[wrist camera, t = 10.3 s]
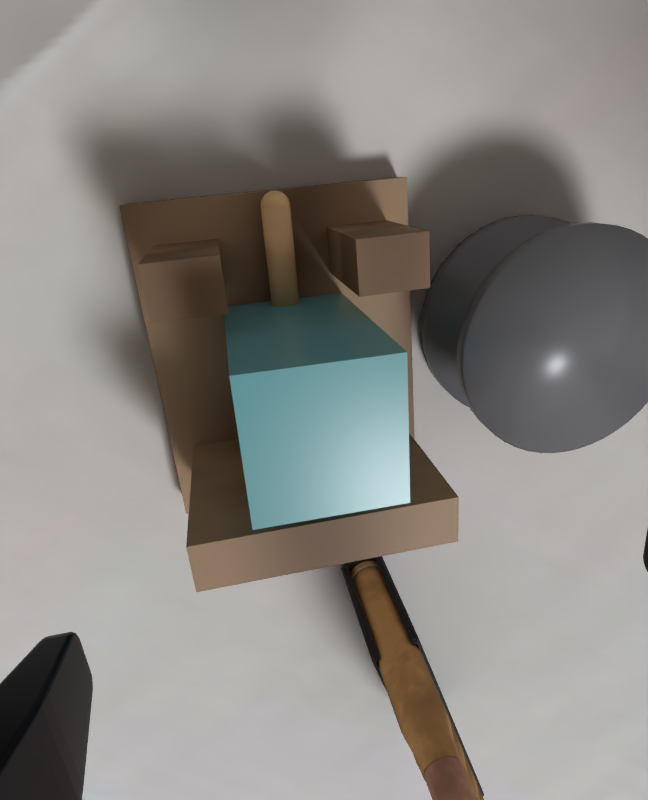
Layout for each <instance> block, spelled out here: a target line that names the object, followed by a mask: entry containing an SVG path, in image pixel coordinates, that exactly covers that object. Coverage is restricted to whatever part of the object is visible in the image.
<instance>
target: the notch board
mask: <svg viewBox="0 0 648 800" xmlns="http://www.w3.org/2000/svg"><path fill="white" fill-rule="evenodd" d="M270 191H280V192H282V193H284V194H285V195H286V196H287V198H288V199H289V202H290V209H291V219H292V230H293V240H294V251H295V262H296V272H297V283H298V293H299V298H302V297H311V296H320V295H328V294H337V293H342V294H343V295H344V296H346V297H347V298H348V299H349V300H350V301H351V302H352V303H353V304H354V305H356V306H357V307H358V308H359V309H360V310H361V311H362V312H363V313H364V314H366V315H367V316H368V317H369V318H370V319H371V320H372V321H373V322H374V323H375V324H377V325H378V326H379V327H380V328H381V329H382V330H383V331H384V332H385V333H387V334H388V335H389V336H390V337H391V338H392V339H393V340H394V341H395V342H396V343H398V344H399V345H400V346H401V347H402V348H403V349H404V350H405V351H406V352H407V364H408V413H409V463H410V503H406V504H400V505H395V506H389V507H383V508H377V509H371V510H366V511H360V512H354V513H348V514H343V515H337V516H331V517H325V518H319V519H314V520H308V521H302V522H296V523H291V524H285V525H279V526H273V527H267V528H262V529H256V530H253V529H252V523H251V516H250V510H249V503H248V496H247V490H246V483H245V477H244V470H243V463H242V457H241V450H240V443H239V437H238V430H237V424H236V417H235V410H234V404H233V397H232V391H231V384H230V377H229V367H228V355H227V343H226V331H225V320H224V314H229V310H228V306H233V305H242V304H251V303H259V302H268V301H271V294H270V285H269V276H268V267H267V259H266V250H265V241H264V232H263V223H262V215H261V201H262V198H263V197H264V195H265V194H266V193H268V192H270ZM120 211H121V215H122V220H123V224H124V229H125V234H126V238H127V243H128V247H129V252H130V257H131V261H132V266H133V270H134V275H135V280H136V284H137V289H138V293H139V298H140V303H141V307H142V312H143V316H144V321H145V326H146V330H147V335H148V340H149V344H150V349H151V353H152V358H153V363H154V367H155V372H156V376H157V381H158V386H159V390H160V395H161V399H162V404H163V409H164V413H165V418H166V422H167V427H168V432H169V436H170V441H171V445H172V450H173V455H174V459H175V464H176V469H177V473H178V478H179V482H180V487H181V492H182V496H183V501H184V505H185V510H186V514H187V513H189V517H188V532H187V546H186V547H187V552H188V556H189V561H190V565H191V570H192V574H193V579H194V583H195V588H196V592H200V591H205V590H210V589H215V588H220V587H225V586H231V585H236V584H241V583H246V582H251V581H256V580H261V579H267V578H272V577H277V576H282V575H287V574H292V573H297V572H303V571H308V570H313V569H318V568H323V567H328V566H333V565H338V564H344V563H349V562H354V561H359V560H364V559H369V558H374V557H380V556H385V555H390V554H395V553H400V552H405V551H410V550H416V549H421V548H426V547H431V546H436V545H441V544H446V543H452V542H457V541H458V496H457V495H456V493H455V492H454V491H453V489H452V488H451V487H450V485H449V484H448V483H447V482H446V480H445V479H444V478H443V476H442V475H441V474H440V472H439V471H438V470H437V468H436V467H435V466H434V465H433V463H432V462H431V461H430V459H429V458H428V457H427V455H426V454H425V453H424V452H423V450H422V449H421V448H420V446H419V445H418V444H417V442H416V441H415V440H414V410H413V374H412V338H411V302H410V290H417V289H425V288H430V232H429V231H427V230H423V229H419V228H415V227H411V226H408V193H407V177H395V178H385V179H375V180H364V181H354V182H344V183H334V184H324V185H314V186H304V187H294V188H284V189H274V190H264V191H254V192H244V193H234V194H224V195H214V196H204V197H194V198H184V199H174V200H164V201H154V202H144V203H133V204H124V205H121V206H120Z"/></svg>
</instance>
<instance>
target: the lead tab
mask: <svg viewBox="0 0 648 800" xmlns="http://www.w3.org/2000/svg"><path fill="white" fill-rule="evenodd" d="M261 215H262V223H263V232H264V241H265V250H266V259H267V267H268V276H269V285H270V294H271V301H268V302H259V303H251V304H242V305H233V306H228V310H229V314H224V320H225V331H226V343H227V355H228V367H229V377H230V384H231V391H232V397H233V404H234V410H235V417H236V424H237V430H238V437H239V443H240V450H241V457H242V463H243V470H244V477H245V483H246V490H247V496H248V503H249V510H250V516H251V523H252V529H253V530H256V529H262V528H267V527H273V526H279V525H285V524H291V523H296V522H302V521H308V520H314V519H319V518H325V517H331V516H337V515H343V514H348V513H354V512H360V511H366V510H371V509H377V508H383V507H389V506H395V505H400V504H406V503H410V463H409V413H408V364H407V352H406V351H405V350H404V349H403V348H402V347H401V346H400V345H399V344H398V343H396V342H395V341H394V340H393V339H392V338H391V337H390V336H389V335H388V334H387V333H385V332H384V331H383V330H382V329H381V328H380V327H379V326H378V325H377V324H375V323H374V322H373V321H372V320H371V319H370V318H369V317H368V316H367V315H366V314H364V313H363V312H362V311H361V310H360V309H359V308H358V307H357V306H356V305H354V304H353V303H352V302H351V301H350V300H349V299H348V298H347V297H346V296H344V295H343V294H342V293H337V294H328V295H320V296H311V297H302V298H299V293H298V283H297V272H296V262H295V251H294V240H293V230H292V219H291V209H290V202H289V199H288V198H287V196H286V195H285V194H284V193H282V192H280V191H270V192H268V193H266V194H265V195H264V197H263V198H262V201H261Z"/></svg>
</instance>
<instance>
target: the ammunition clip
mask: <svg viewBox="0 0 648 800" xmlns="http://www.w3.org/2000/svg"><path fill="white" fill-rule="evenodd" d="M341 569H342V572H343V575H344V578H345V581H346V584H347V587H348V590H349V593H350V596H351V599H352V602H353V605H354V608H355V611H356V614H357V617H358V620H359V623H360V626H361V629H362V632H363V635H364V638H365V641H366V644H367V647H368V650H369V653H370V656H371V659H372V662H373V664H374V666H375V668H376V670H377V672H378V674H379V676H380V678H381V680H382V682H383V684H384V686H385V688H386V691H387V693H388V695H389V698H390V701H391V704H392V707H393V710H394V713H395V715H396V718H397V721H398V724H399V727H400V729H401V732H402V734H403V736H404V738H405V740H406V742H407V743H408V745H409V747H410V749H411V750H412V752H413V755H414V757H415V760H416V762H417V765H418V767H419V769H420V771H421V773H422V775H423V778H424V780H425V781H426V783H427V786H428V788H429V791H430V794H431V797H432V799H433V800H484V799H483V796H484V793H483V791H482V788H481V786H480V783H479V781H478V779H477V776H476V774H475V772H474V769H473V767H472V764H471V762H470V760H469V757H468V755H467V752H466V750H465V748H464V745H463V743H462V741H461V738H460V736H459V733H458V731H457V729H456V726H455V724H454V722H453V719H452V717H451V714H450V712H449V710H448V707H447V705H446V703H445V700H444V698H443V695H442V693H441V691H440V688H439V686H438V683H437V681H436V679H435V676H434V674H433V672H432V669H431V667H430V664H429V662H428V660H427V657H426V655H425V653H424V650H423V648H422V645H421V643H420V641H419V638H418V636H417V634H416V632H415V629H414V627H413V625H412V623H411V620H410V618H409V616H408V614H407V611H406V609H405V607H404V605H403V603H402V600H401V598H400V596H399V594H398V591H397V589H396V587H395V585H394V582H393V580H392V578H391V576H390V573H389V571H388V569H387V567H386V565H385V562H384V560H383V558H382V556H380V557H374V558H369V559H364V560H359V561H354V562H351V563H349V564H346V565H344V566H342V568H341Z"/></svg>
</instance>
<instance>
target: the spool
mask: <svg viewBox="0 0 648 800" xmlns="http://www.w3.org/2000/svg"><path fill="white" fill-rule="evenodd" d="M421 341H422V347H423V351H424V356H425V358H426V361H427V364H428V366H429V368H430V370H431V372H432V374H433V375H434V377H435V378H436V380H437V381H438V382H439V383H440V385H441V386H442V387H443V388H444V389H445V390H446V391H447V392H449V393H450V394H451V395H452V396H453V397H454V398H455V399H457V400H458V401H460V402H461V403H462V404H464V405H466V406H468V407H470V409H471V411H472V412H473V413H474V415H475V416H476V417H477V418H478V420H479V421H480V422H481V423H483V424H484V425H485V426H486V427H487V428H488V429H489V430H490V431H491V432H492V433H493V434H494V435H496V436H497V437H499V438H500V439H501V440H503V441H504V442H506V443H508V444H510V445H512V446H515V447H517V448H520V449H523V450H527V451H532V452H539V453H557V452H565V451H570V450H574V449H579V448H582V447H584V446H587V445H590V444H593V443H595V442H597V441H599V440H601V439H603V438H605V437H607V436H608V435H610V434H611V433H613V432H615V431H616V430H618V429H619V428H620V427H622V426H623V425H624V424H626V423H627V422H628V421H629V420H631V419H632V418H633V417H634V416H635V415H636V414H637V413H638V412H639V411H640V410H641V409H642V408H643V407H644V406H645V404H646V403H647V402H648V239H647V238H646V237H644V236H643V235H641V234H639V233H637V232H635V231H633V230H631V229H627V228H624V227H620V226H617V225H608V224H600V223H591V222H586V223H572V224H570V223H568V222H566V221H563V220H560V219H556V218H551V217H543V216H534V215H526V216H515V217H510V218H505V219H502V220H499V221H496V222H493V223H491V224H489V225H487V226H485V227H483V228H481V229H479V230H478V231H476V232H475V233H473V234H472V235H470V236H469V237H468V238H466V239H465V240H464V241H463V242H462V243H460V244H459V245H458V246H457V247H456V248H455V249H454V250H453V251H452V253H451V254H450V255H449V256H448V257H447V258H446V260H445V261H444V262H443V264H442V265H441V267H440V268H439V270H438V272H437V273H436V275H435V277H434V278H433V280H432V283H431V285H430V288H429V290H428V292H427V295H426V299H425V302H424V305H423V311H422V317H421Z"/></svg>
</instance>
